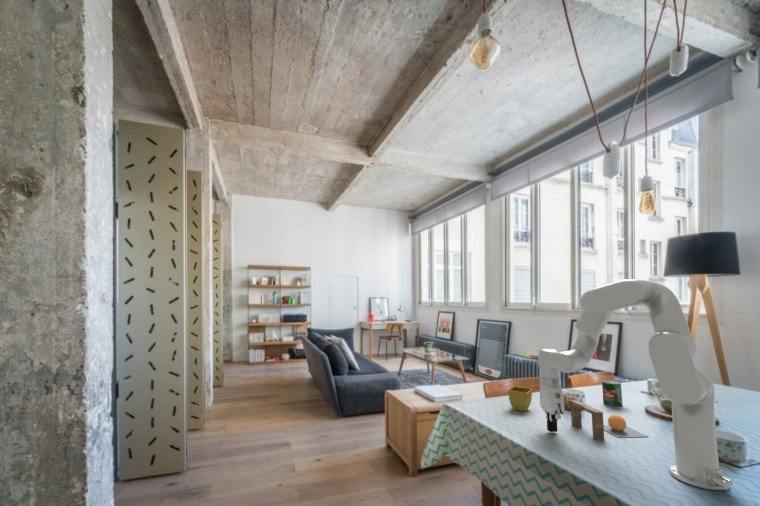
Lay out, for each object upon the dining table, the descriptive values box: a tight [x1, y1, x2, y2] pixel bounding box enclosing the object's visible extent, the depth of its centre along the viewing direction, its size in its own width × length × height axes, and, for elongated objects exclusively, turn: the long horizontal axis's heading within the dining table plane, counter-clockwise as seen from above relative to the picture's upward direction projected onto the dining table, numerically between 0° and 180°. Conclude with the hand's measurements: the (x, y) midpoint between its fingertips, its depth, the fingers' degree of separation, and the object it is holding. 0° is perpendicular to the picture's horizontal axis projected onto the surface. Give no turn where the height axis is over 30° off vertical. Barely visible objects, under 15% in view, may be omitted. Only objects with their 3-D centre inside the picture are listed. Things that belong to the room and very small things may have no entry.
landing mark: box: [604, 424, 649, 439], centre depth 139 cm, size 12×12×1 cm
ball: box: [607, 414, 627, 431], centre depth 140 cm, size 6×6×6 cm
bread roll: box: [563, 394, 574, 411], centre depth 169 cm, size 10×10×8 cm
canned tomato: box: [601, 379, 623, 408], centre depth 173 cm, size 8×8×11 cm
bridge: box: [570, 400, 605, 441], centre depth 139 cm, size 15×3×10 cm, turn 5°
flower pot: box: [507, 385, 533, 412], centre depth 165 cm, size 9×9×9 cm
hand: (552, 430), depth 137 cm, fingers closed
